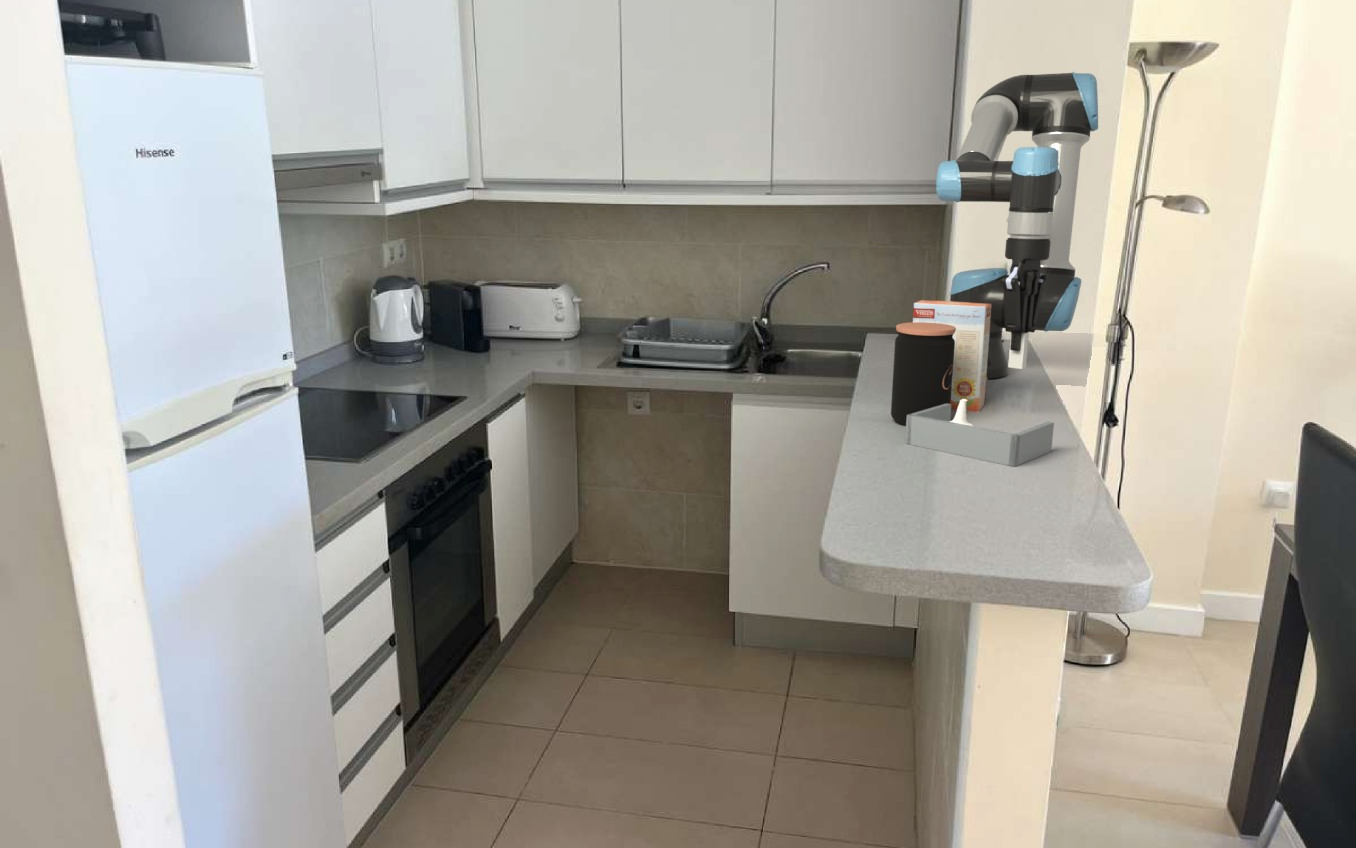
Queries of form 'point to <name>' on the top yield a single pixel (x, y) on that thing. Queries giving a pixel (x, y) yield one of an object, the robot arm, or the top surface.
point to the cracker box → (963, 345)
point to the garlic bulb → (961, 414)
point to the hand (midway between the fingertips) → (1016, 367)
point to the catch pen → (976, 438)
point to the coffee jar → (921, 368)
